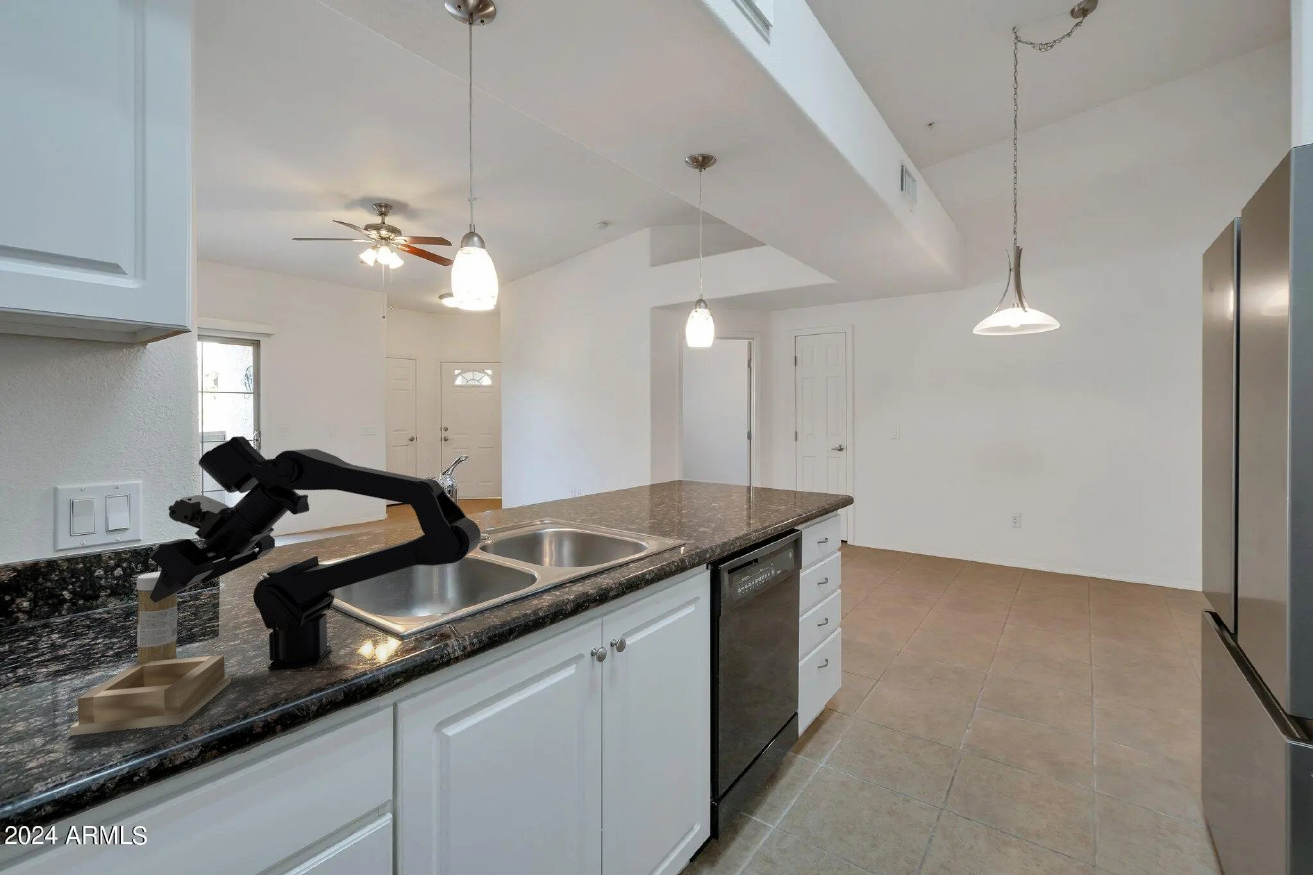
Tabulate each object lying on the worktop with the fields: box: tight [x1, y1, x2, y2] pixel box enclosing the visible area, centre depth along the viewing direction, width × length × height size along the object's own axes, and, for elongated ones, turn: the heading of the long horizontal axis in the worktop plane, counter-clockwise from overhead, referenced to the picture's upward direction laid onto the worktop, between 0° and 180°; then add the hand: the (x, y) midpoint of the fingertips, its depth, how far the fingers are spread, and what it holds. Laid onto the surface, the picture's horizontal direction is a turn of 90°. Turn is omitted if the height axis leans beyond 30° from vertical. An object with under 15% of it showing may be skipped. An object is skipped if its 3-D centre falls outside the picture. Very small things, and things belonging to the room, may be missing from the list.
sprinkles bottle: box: [136, 570, 178, 662], centre depth 82 cm, size 5×5×14 cm
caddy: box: [69, 654, 232, 737], centre depth 70 cm, size 11×11×4 cm
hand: (178, 590), depth 83 cm, fingers open, 9 cm apart
